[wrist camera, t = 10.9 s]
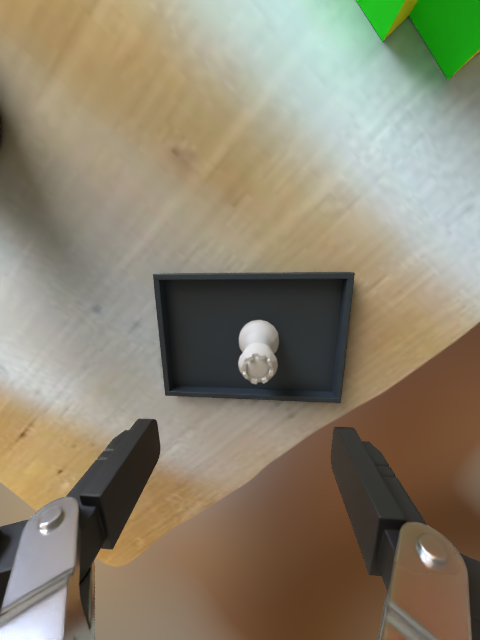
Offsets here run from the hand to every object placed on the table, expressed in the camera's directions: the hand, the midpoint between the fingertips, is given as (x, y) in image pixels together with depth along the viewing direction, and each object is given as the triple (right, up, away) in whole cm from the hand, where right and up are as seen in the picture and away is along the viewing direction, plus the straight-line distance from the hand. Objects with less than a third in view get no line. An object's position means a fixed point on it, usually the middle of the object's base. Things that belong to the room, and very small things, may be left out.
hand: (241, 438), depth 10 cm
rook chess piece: (+2, +3, +15) cm, 16 cm away
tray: (+1, +4, +16) cm, 16 cm away
